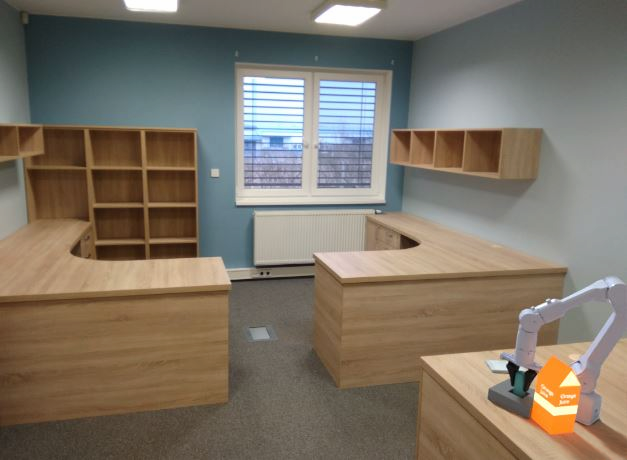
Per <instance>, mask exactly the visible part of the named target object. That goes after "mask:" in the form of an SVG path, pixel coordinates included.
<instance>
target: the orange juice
mask: <svg viewBox="0 0 627 460" xmlns="http://www.w3.org/2000/svg"><path fill="white" fill-rule="evenodd" d="M569 366H570V365H567V364H566V363H564V362H563V361H562V360H560V359H558V358H557V357H555V356H554V355H551V356H550V358H549V359H548V360H547V361H546V363H545V364H544V365H543V368H542V369H541V371H540V372H539V373H538V374H537V376H536V383H535V389H534V390H535V394H534V402H533V409H532V416H531V418H530V419H532V420H533V421H534V422H535V423H536V424H537V425H539V426H540V427H541V428H542V429H544V430H545V431H546V432H547V433H548V434H549V435H550V436H551V435H562V434H569V433H574V429H575V422H576V420H575V418H576V413H577V407H578V400H579V394H580V388H581V385H580V383H579V381H578V379H577V377H576V375H575V373H574V371H573V369H572V368H571V367H569Z"/></svg>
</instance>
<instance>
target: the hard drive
mask: <svg viewBox="0 0 627 460" xmlns="http://www.w3.org/2000/svg"><path fill="white" fill-rule="evenodd" d="M484 363H485V365H486V366H487V367H488V369H489V370H490V372H491V373H497V374H498V373H502V374H509V372H508V370H507V368H506V364H508V361H506V360H500V359H499V360H498V359H497V360H495V359H485V360H484ZM519 371H524V372H525V371H527V370H526V368H524V367H521V366H520V368H519Z"/></svg>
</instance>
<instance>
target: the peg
mask: <svg viewBox="0 0 627 460" xmlns="http://www.w3.org/2000/svg"><path fill="white" fill-rule="evenodd" d="M524 382H525V375H524V371H516V375H515V382H514V389H513V394H514V395H516V396H519V397H521V398H524V397H525V392H524V391H523V388H524Z"/></svg>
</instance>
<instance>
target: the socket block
mask: <svg viewBox="0 0 627 460" xmlns="http://www.w3.org/2000/svg"><path fill="white" fill-rule="evenodd" d="M513 389H514V386H513V387H512V386H511V381H510V378H507V379H504V380H503V381H501V382H499V383H496V384H494V385H493V386H491V387H488V391H487V400H489V401H492V402H494V403H496V404H498V405H499V406H502V407H504V408H506V409H508V410H510V411H512V412H514V413H516V414H518V415H520V416H522V417H524V418H527V419H528V420H530V419H532V418H531V416H532V409H533V402H534V394H535V389H534V388H531V387H529V390H528V391H527V392H525V397H524V398H521V397H519V396H516V395H514V394H513Z"/></svg>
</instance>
